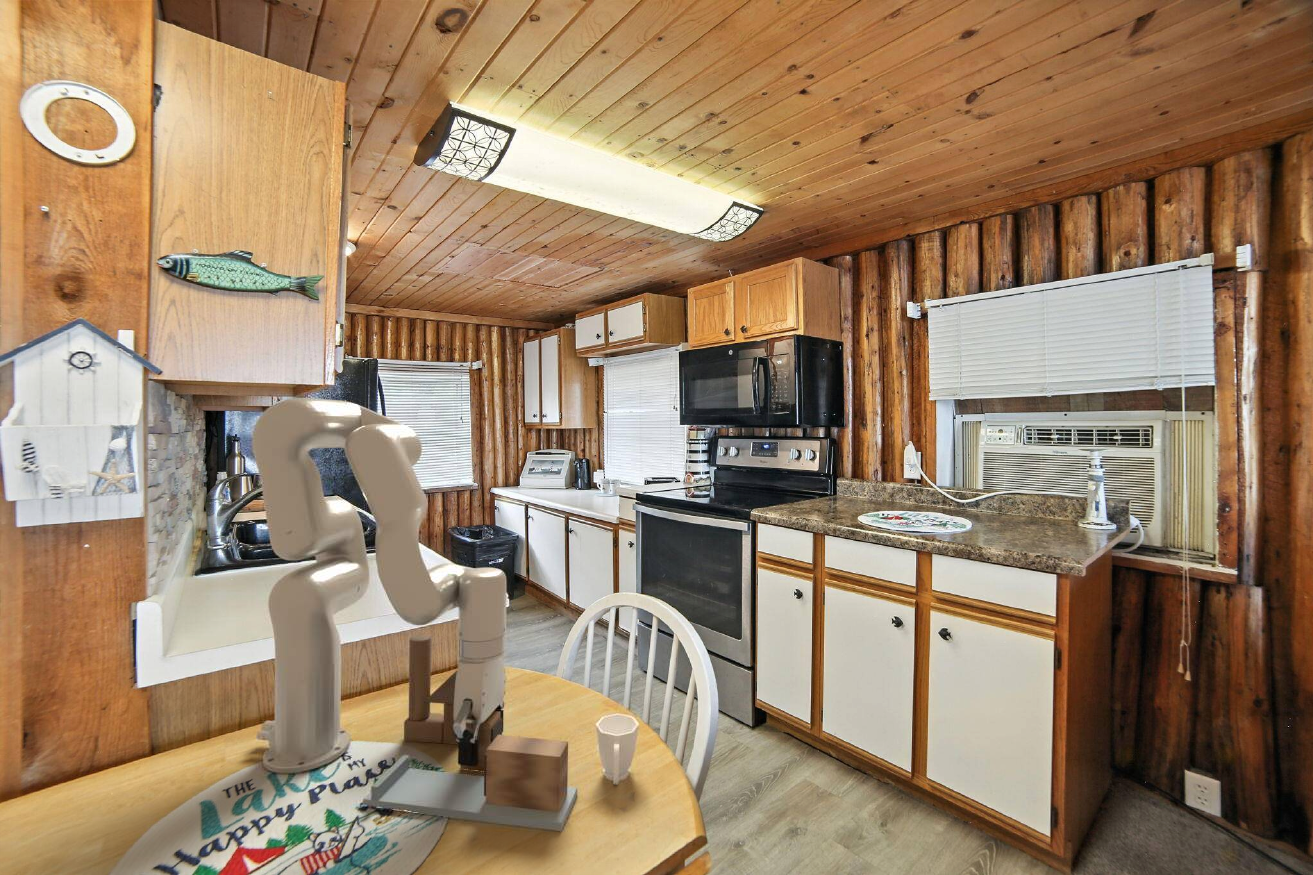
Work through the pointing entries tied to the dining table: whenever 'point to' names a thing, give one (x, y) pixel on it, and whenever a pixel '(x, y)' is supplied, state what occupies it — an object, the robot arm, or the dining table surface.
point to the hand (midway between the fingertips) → (481, 747)
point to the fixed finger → (526, 773)
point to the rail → (456, 798)
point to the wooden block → (428, 698)
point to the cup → (617, 744)
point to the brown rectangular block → (485, 736)
